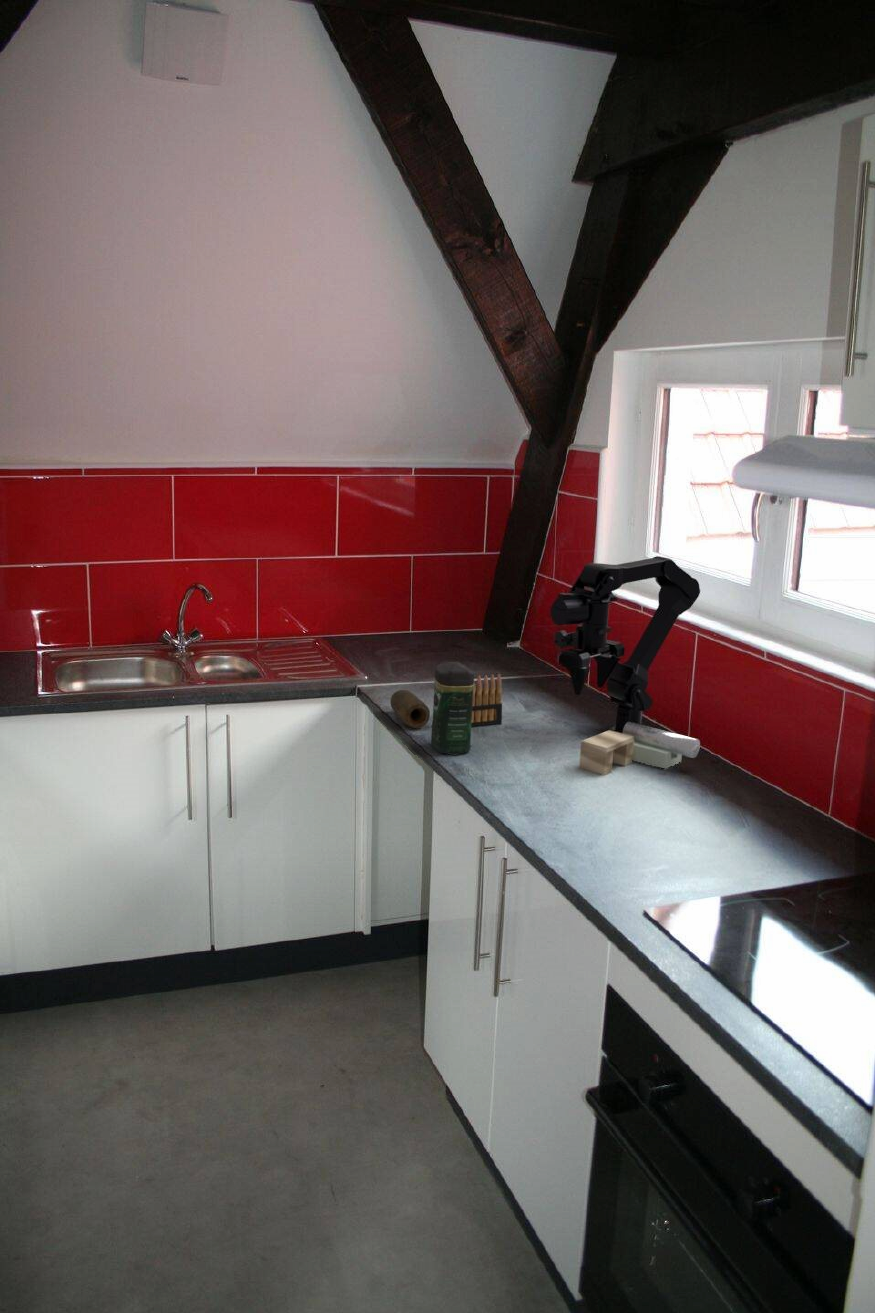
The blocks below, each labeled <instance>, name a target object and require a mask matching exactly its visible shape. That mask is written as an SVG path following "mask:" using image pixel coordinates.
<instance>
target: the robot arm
mask: <svg viewBox="0 0 875 1313" xmlns="http://www.w3.org/2000/svg"><path fill="white" fill-rule="evenodd" d="M649 579H655V582H656V584H657V585H658V586H659V587H660V589H659V591H658V593H657V594H658V606H657V608H656V610H655V612H654V614H653V615H652V617H651V619H650V620H649V622H648V624H647V626H646V628H645V629H644V631H643V633H642V635H641V637H640V639H639V640H638V642H637V644H636V646H635V647H634V649H633V651H632V652H631V654H630V656H629V658H628V659H627V660H626V661H624V662H622V663H620V662H619V661H621V659H622V657H623V656H625V648H626V647H625V646H624V644H623V643H622V642H620V641H615V640H610V639H607V636H608V633H611V632H612V627H611V626H608V622H609V611H610V603H612V602H613V603H615V602H618V600H619V599H618V597H617V596H616V595H614V594H613V592H614V591H617V590H619V589H620V588H621V586H623V585H625V584H629V583H634V582H638V581H643V580H649ZM699 583H700V582H699V581H698V580H697V579H696V578H694V577H692V576H691V575H690V574H689V573H688V572H686V571H685V570H684V569H682V568H681V567H680V566H678V564H676V562H675V561H674V560H673V559H671V558H669V557H663V556H659V555H658V556H653V557H650V558H646V559H640V560H635V561H628V562H624V563H619V564H608V563H599V562H597V563H595V562H594V563H593V562H588V563H587V564H585V565H584V566H583V568H582V570H581V572H580V574H579V575H578V577H577V579H576V580H575V581H574V583H573V585H572V586H571V587H570V589H569V590H568V593H564V592H560V593H559V592H558V593H557V598H556V599H554V601H552V602H553V603H552V604H551V606H550V609H549V612H550V617H551V620H552V622H553V623H554V624H555V625H556V626H568V625H576V627H575V631H573V632H568V633H567V631H566V630H558V631H555V632H554V637H553V644H554V645H555V646H556V647H558V650H561V651H560V652H559V653H558V654H557V664H559V665H561V666H562V667H563V668H565V669H566V670H567V671H568V673H569V676H570V679H571V683H572V687H573V691H574V694H575V695H577V696H580V695H582V691H583V690H584V686H585V684H586V680H587V678H588V676H589V673H590V669H591V666H590V664H591V661H592V658H593V659H594V661H595V662H596V685H597V688H601V689H603V687H604V685H605V684H606V690H607V693H608V696H609V700H610V702H611V703H615V704H616V705H617V706H616V713H615V725H614V726H612V727H610V728H608V730H611V731H615V732H618V733H622V734H623V729H624V726H625V724H626V723H627V722H632V723H636V724H640V725H642V718H643V712H646V711H647V710H651V707H652V704H653V702H654V700H653V698H652V697H651V696H650V695H649V694H648V692H647V691H646V689H647V687H648V684H649V669H650V667H651V666H652V663H653V662H654V660H655V658H656V656H657V655H658V653H659V651H660V649H661V648H662V646H663V644H664V643H665V640H666V639H667V637H668V635H669V633H670V631H671V630H672V628H673V626H674V624H675V623H676V622H677V619H678V617H679V616H681V615H682V614H684V613H685V612H686V611H688V610H690V608H691V607H693V605H694V603H695V602H696V600H697V599H698V598H699V596H700V595H701V588H700V584H699ZM564 648H565V649H564ZM567 648H568V649H567ZM563 649H564V650H563Z"/></svg>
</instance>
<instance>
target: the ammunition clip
mask: <svg viewBox="0 0 875 1313" xmlns="http://www.w3.org/2000/svg"><path fill="white" fill-rule="evenodd" d="M501 676H502V675H501V674H500V673H498V674H497V677H496V680H495V676H494V673H492V674H491V676H490V679H489V678H488V675H487V674H485V675H484V677H483V681H482V678H481V675H480V674H479V675H478V676H477V678H476V684H475V683H474V690H473V703H472V720H471V729H474V728H483V727H491V726H492V725H493V726H500V725H502V722H503V721H502V720H503V703H502V694H503V693H502V692H503V691H502V677H501ZM495 681H496V682H495Z"/></svg>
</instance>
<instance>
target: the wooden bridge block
mask: <svg viewBox="0 0 875 1313" xmlns="http://www.w3.org/2000/svg"><path fill="white" fill-rule="evenodd" d="M633 745H634V736H630V735H626V734H622V733H618V732H615V731H611V730H609V729H608V730H606V731H604V732H600V733H599V734H596V735H593V736H591V737H588V738H585V739H583V740H581V741H580V753H579V763H578V764H579V766H578V767H579V769H582V770H584V771H585V770H586V771H589V772H591V773H596V774H599V775H601V776H606V775H608V774H610V773H612V771H613V763H614V764H616V765H620V766H623V767H626V766H628V765H630V764H632V763H633V761H632V755H633Z"/></svg>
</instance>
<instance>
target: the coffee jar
mask: <svg viewBox="0 0 875 1313" xmlns="http://www.w3.org/2000/svg"><path fill="white" fill-rule="evenodd" d="M433 682H434V687H433V688H434V689H433V690H434V691H433V705H432V706H433V707H432V708H433V709H432V721H431V722H432V723H431V736H430V737H431V738H430V743H431V745H432V747H433V748H434V749H435V751H437V752H438V753H442V754H443V753H444V754H448V755H460V754H465V753H468V752H470V749H471V737H472V735H471V734H472V728H471V720H472V703H473V690H474V688H475V686H474V684H475V673H474V671H473V670H471V669H470V668H469V667H468V666H466V665H464V664H463V663H461V662H460V661H441V663H439V664H438V665H436V667H435V669H434V679H433Z"/></svg>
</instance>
